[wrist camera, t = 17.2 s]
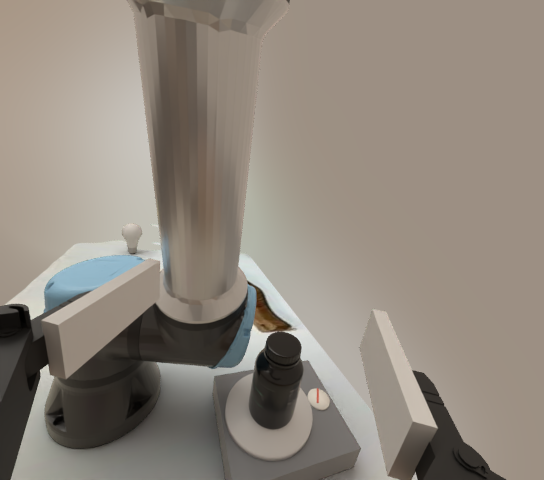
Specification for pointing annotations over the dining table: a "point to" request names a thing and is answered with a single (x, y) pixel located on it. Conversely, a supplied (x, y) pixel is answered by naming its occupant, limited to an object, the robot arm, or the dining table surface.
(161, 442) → the dining table surface
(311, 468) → the kitchen scale
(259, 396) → the supplement bottle
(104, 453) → the dining table surface
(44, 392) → the dining table surface
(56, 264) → the dining table surface
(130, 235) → the lightbulb
